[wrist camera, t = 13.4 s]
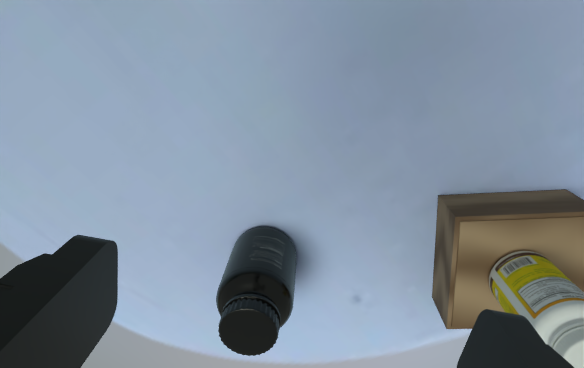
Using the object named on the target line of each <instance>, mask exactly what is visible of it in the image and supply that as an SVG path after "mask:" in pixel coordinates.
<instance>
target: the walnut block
mask: <svg viewBox="0 0 584 368" xmlns="http://www.w3.org/2000/svg"><path fill="white" fill-rule="evenodd" d="M518 251H531V252H535V253H538V254H541V255H542V256H544V257H545V258H547V259H548V260H549V261H550V262H551V263H552V264H554V265H555V266H556V267H557V268H558V269H559V270H560V271H561V272H562V273H563V274H564V275H565V276H566V277H567V278H569V279H570V280H571V281H572V282H573V283H574V284H575V285H576V286H577V287H578V288H579V289H580V290H582V291H583V292H584V200H583V199H581V198H579V197H578V196H576V195H574V194H573V193H571V192H569V191H568V190H544V191H522V192H500V193H478V194H457V195H438V209H437V225H436V242H435V258H434V274H433V291H432V298H433V300H434V302H435V305H436V307H437V309H438V311H439V313H440V316H441V318H442V320H443V322H444V324H445V327H446V329H473V326H474V324H475V322H476V320H477V317H478V315H479V314H480V312H482V311H483V310H485V309H490V310H495V311H501V312H505V311H504V309H503V308H502V307H501V305H500V304H499V302H498V301H497V299H496V298H495V297H494V295H493V294H492V292H491V290H490V286H489V275H490V272H491V270H492V268H493V267H494V265H495V264H496V263H497V262H498V261H499V260H500V259H501V258H503V257H505V256H506V255H508V254H511V253H514V252H518Z"/></svg>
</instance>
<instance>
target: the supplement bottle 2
mask: <svg viewBox="0 0 584 368" xmlns="http://www.w3.org/2000/svg"><path fill="white" fill-rule="evenodd" d="M489 286H490V290H491V292H492V294H493V295H494V297H495V298H496V299H497V301H498V302H499V304H500V305H501V307H502V308H503V309H504V311H505V312H506V313H512V314H517V315H522V316H524V317H526V318H527V319H528V320H529V322H530V323H531V324H532V326H533V327H534V328H535V330H536V331H537V333H538V334H539V335H540V337H541V338H542V339H543V341H544V342H545V344H548V345H549V346H550V347H552V348H553V349H554V350H555V351H556V352H557V353H558V354H560V355H561V356H562V357H563V358H564V359H565V360H567V361H568V362H569V363H570V364H571V365H572V366H573V367H574V368H584V292H583V291H582V290H580V289H579V288H578V287H577V286H576V285H575V284H574V283H573V282H572V281H571V280H570V279H569V278H567V277H566V276H565V275H564V274H563V273H562V272H561V271H560V270H559V269H558V268H557V267H556V266H555V265H554V264H552V263H551V262H550V261H549V260H548V259H547V258H545V257H544V256H542V255H541V254H538V253H535V252H531V251H518V252H514V253H511V254H508V255H506V256H505V257H503V258H501V259H500V260H499V261H498V262H497V263H496V264H495V265H494V267H493V268H492V270H491V272H490V275H489Z"/></svg>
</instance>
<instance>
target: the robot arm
mask: <svg viewBox="0 0 584 368" xmlns="http://www.w3.org/2000/svg"><path fill="white" fill-rule="evenodd" d="M117 278H118V250H117V245H116V243H115V242H114V241H111V240H105V239H100V238H94V237H88V236H83V235H76V236H74V237H72V238H71V239H70V240H69V241H68V242H66V243H65V244H64V245H63V246H62V247H61V248H59V249H58V250H57V251H56V252H55V253H54V254H52V255H51V254H42V255H40V256H38V257H35V258H33V259H31V260H29V261H26V262H24V263H22V264H20V265H17V266H16V267H15V268H13V269H12V270H11V271H10V272H8V273H7V274H6V275H4V276H3V277H2V278H1V279H0V368H81V366H82V364H83V363H84V362H85V360H86V359H87V357H88V356H89V354H90V353H91V352H92V350H93V349H94V348H95V346H96V345H97V343H98V342H99V340H100V339H101V338H102V336H103V335H104V333H105V332H106V330H107V328H108V327H109V325H110V323H111V321H112V319H113V316H114V313H115V310H116V306H117ZM457 368H574V367H573V366H572V365H571V364H570V363H569V362H568V361H567V360H565V359H564V358H563V357H562V356H561V355H560V354H558V353H557V352H556V351H555V350H554V349H553V348H552V347H550V346H549V345H548V344H545V342H544V341H543V339H542V338H541V337H540V335H539V334H538V333H537V331H536V330H535V328H534V327H533V326H532V324H531V323H530V322H529V320H528V319H527V318H526V317H524V316H522V315H517V314H512V313H506V312H501V311H495V310H490V309H485V310H483V311H482V312H480V314H479V315H478V317H477V320H476V322H475V324H474V326H473V329H472V331H471V333H470V336H469V338H468V340H467V342H466V345H465V347H464V349H463V352H462V354H461V356H460V359H459V361H458V365H457Z"/></svg>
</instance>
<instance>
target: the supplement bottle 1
mask: <svg viewBox="0 0 584 368" xmlns="http://www.w3.org/2000/svg"><path fill="white" fill-rule="evenodd" d="M295 273H296V250H295V247H294V245H293V243H292V241H291V240H290V239H289V238H288V237H287V236H286V235H285V234H284V233H282V232H281V231H279V230H276V229H273V228H269V227H257V228H253V229H250V230H248V231H246V232H245V233H243V234H242V235H241V236H240V237H239V238H238V240H237V241H236V243H235V245H234V247H233V250H232V252H231V255H230V258H229V261H228V263H227V266H226V269H225V272H224V274H223V277H222V280H221V282H220V285H219V288H218V291H217V296H216V303H217V308H218V311H219V314H220V316H221V320H220V323H219V330H218V331H219V333H220V334H219V336H220V337H221V341H222V342H223V343H224V345H226V346H227V347H228V348H229V349H231V350H232V351H234V352H236V353H238V354H242V355H248V356H250V355H253V356H255V355H260V354H261V353H265V352H266V351H268V350H270V348H272V347H273V345H274V344H275V343H276V340H277V338H278V332H279V329H280V327H282V326H283V325H284V324H285V323H286V321H287V320H288V319H289V317H290V315H291V312H292V308H293V300H294V287H295Z"/></svg>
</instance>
